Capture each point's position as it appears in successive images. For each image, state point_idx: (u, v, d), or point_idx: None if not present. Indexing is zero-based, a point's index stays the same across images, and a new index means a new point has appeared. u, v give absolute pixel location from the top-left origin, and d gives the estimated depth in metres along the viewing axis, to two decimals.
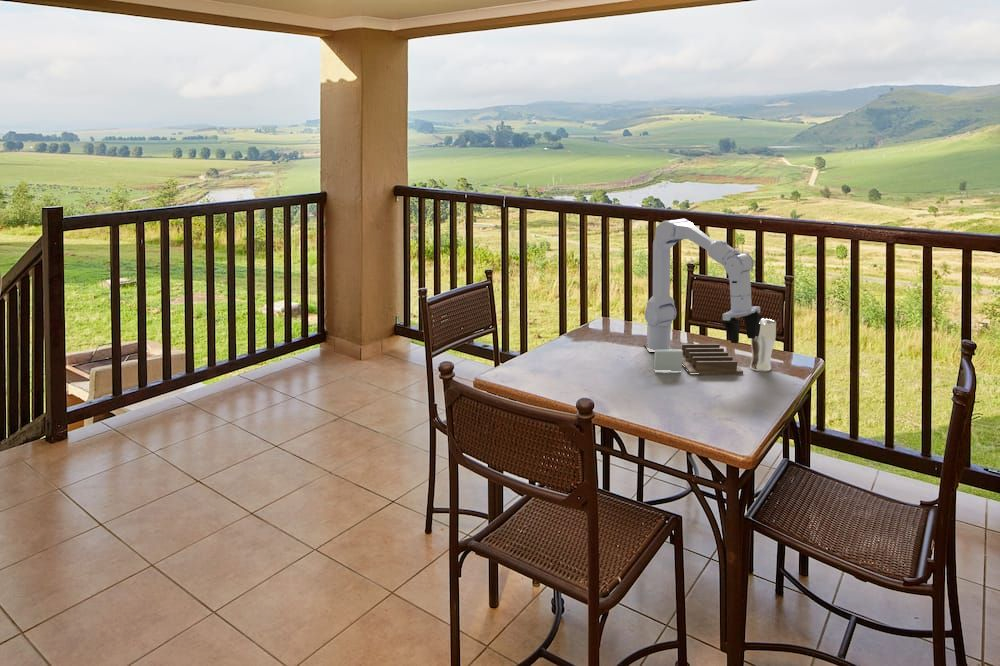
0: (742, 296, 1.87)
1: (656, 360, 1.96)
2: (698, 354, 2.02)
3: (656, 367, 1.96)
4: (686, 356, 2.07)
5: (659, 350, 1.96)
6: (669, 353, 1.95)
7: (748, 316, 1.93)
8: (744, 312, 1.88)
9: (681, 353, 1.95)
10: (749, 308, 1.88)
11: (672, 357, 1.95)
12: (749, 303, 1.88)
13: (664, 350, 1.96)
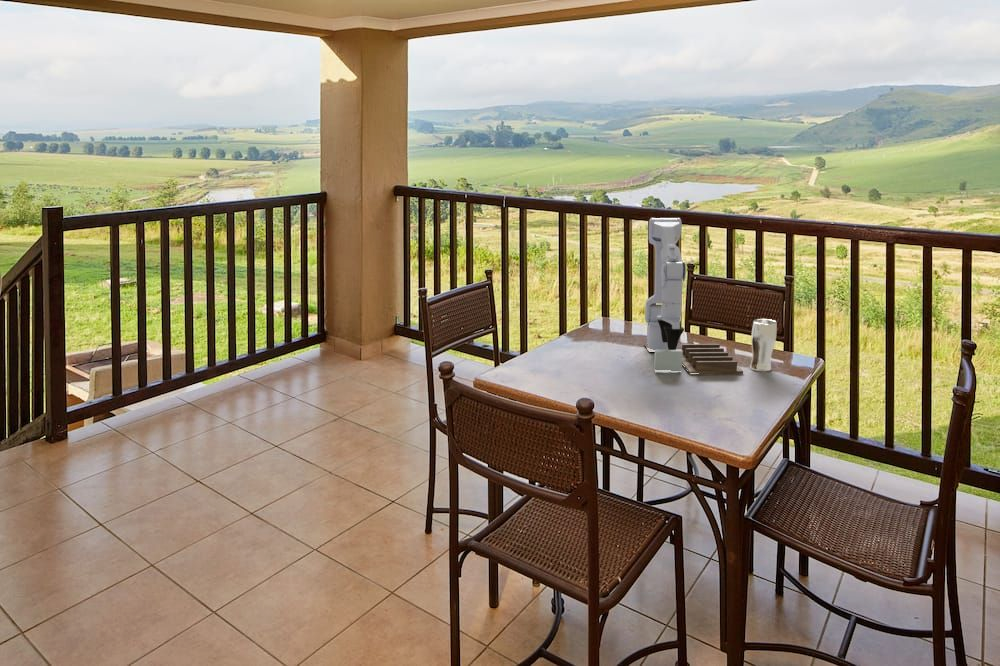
0: None
1: (656, 360, 1.96)
2: (698, 354, 2.02)
3: (656, 367, 1.96)
4: (686, 356, 2.07)
5: (659, 350, 1.96)
6: (669, 353, 1.95)
7: None
8: None
9: (681, 353, 1.95)
10: (661, 314, 1.93)
11: (672, 357, 1.95)
12: (661, 309, 1.92)
13: (664, 350, 1.96)
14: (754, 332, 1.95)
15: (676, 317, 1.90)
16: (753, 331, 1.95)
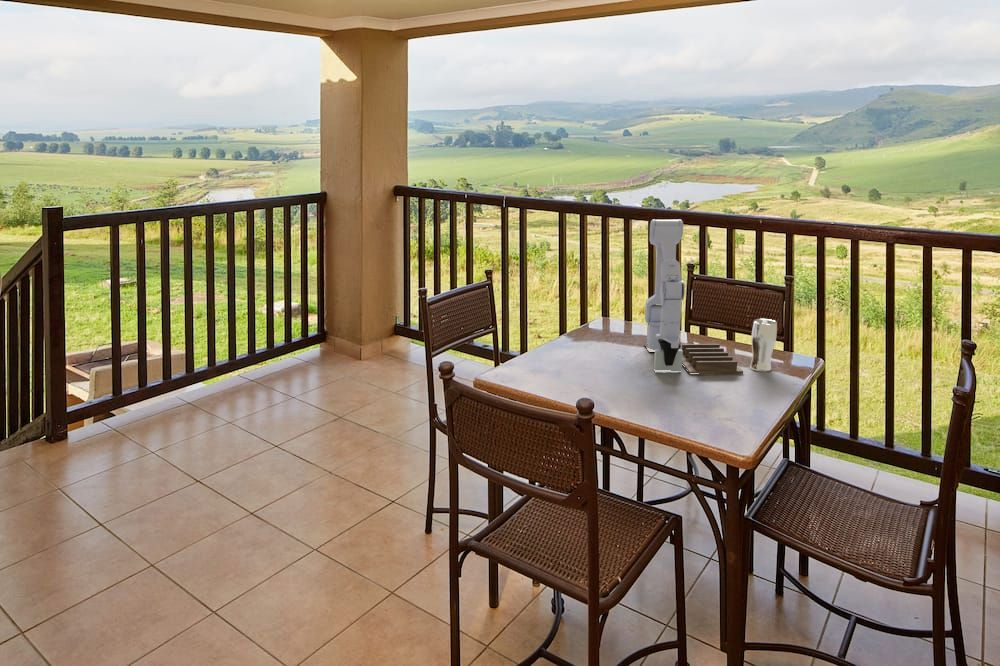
0: None
1: (656, 360, 1.96)
2: (698, 354, 2.02)
3: (656, 367, 1.96)
4: (686, 356, 2.07)
5: (659, 350, 1.96)
6: None
7: None
8: None
9: (681, 353, 1.95)
10: (660, 333, 1.94)
11: None
12: (660, 328, 1.94)
13: None
14: (754, 332, 1.95)
15: (675, 336, 1.92)
16: (753, 331, 1.95)
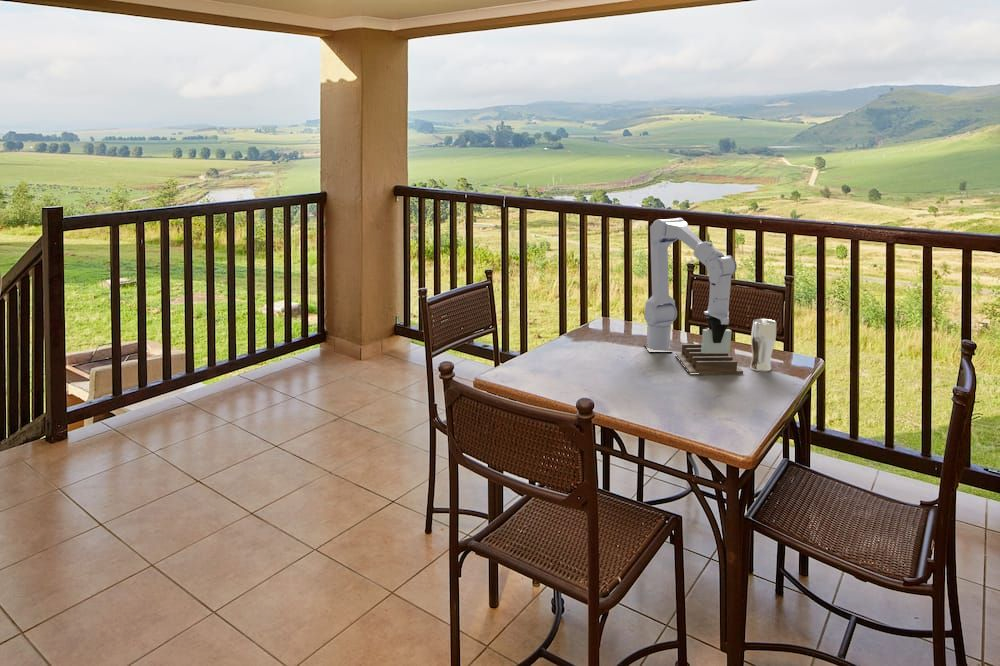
0: None
1: (704, 340, 1.94)
2: (698, 354, 2.02)
3: (704, 347, 1.94)
4: (686, 356, 2.07)
5: (707, 330, 1.94)
6: None
7: None
8: None
9: (730, 333, 1.93)
10: (708, 309, 1.92)
11: None
12: (709, 305, 1.91)
13: None
14: (754, 332, 1.95)
15: (724, 312, 1.89)
16: (753, 331, 1.95)
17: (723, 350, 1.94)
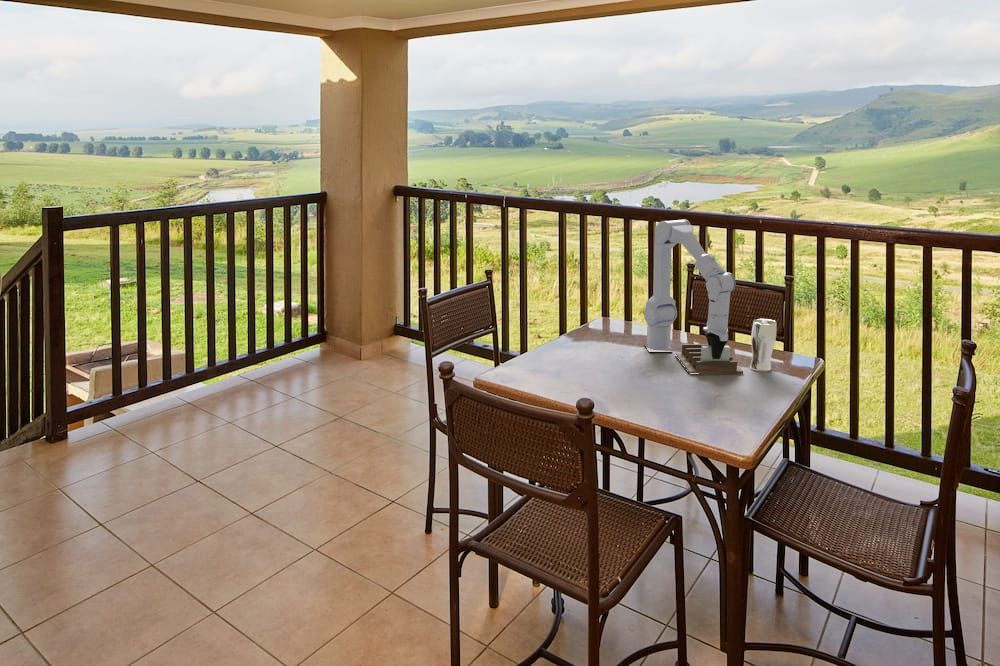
0: None
1: (703, 356, 1.95)
2: (698, 354, 2.02)
3: None
4: (686, 356, 2.07)
5: (706, 346, 1.95)
6: None
7: None
8: None
9: (728, 349, 1.94)
10: (707, 326, 1.93)
11: None
12: (708, 321, 1.93)
13: None
14: (754, 332, 1.95)
15: (723, 329, 1.91)
16: (753, 331, 1.95)
17: None
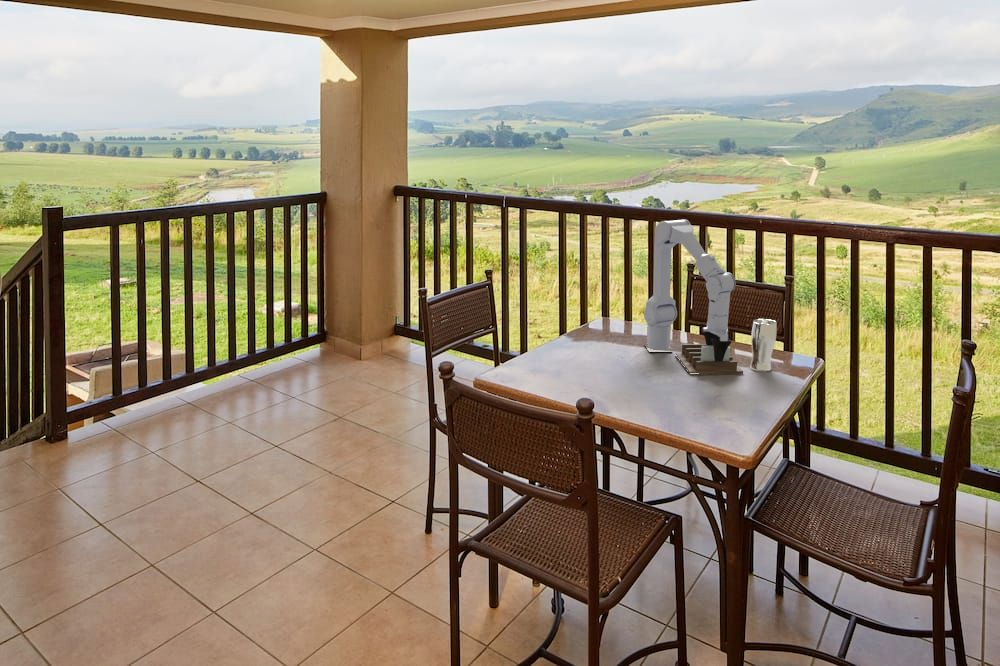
0: None
1: (703, 356, 1.95)
2: (698, 354, 2.02)
3: None
4: (686, 356, 2.07)
5: (706, 346, 1.95)
6: None
7: None
8: None
9: (728, 349, 1.94)
10: (707, 326, 1.93)
11: None
12: (708, 321, 1.93)
13: (711, 346, 1.95)
14: (754, 332, 1.95)
15: (723, 329, 1.91)
16: (753, 331, 1.95)
17: None
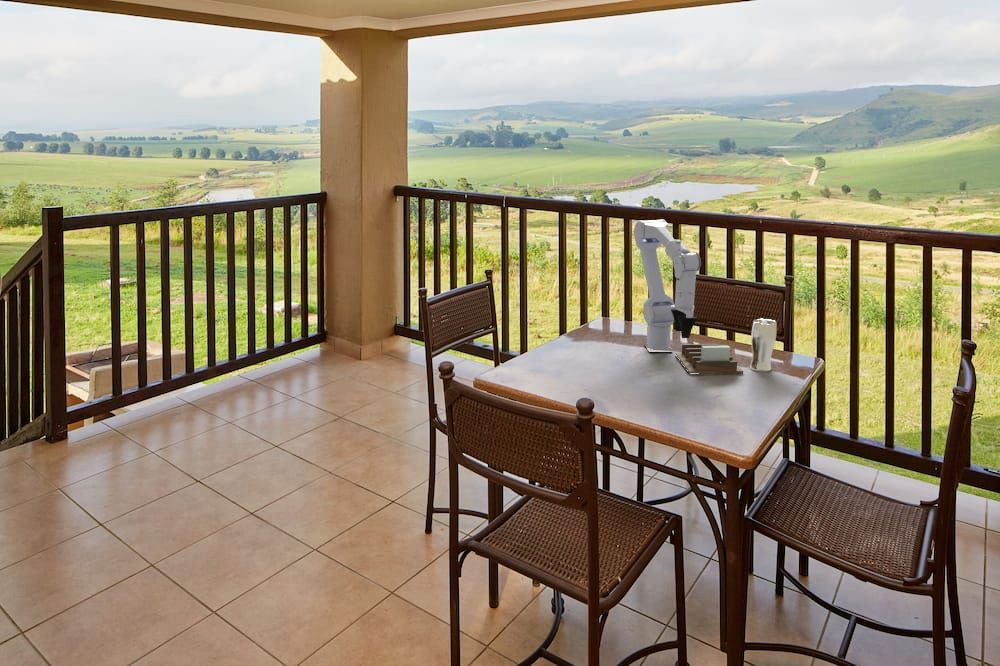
0: None
1: (703, 356, 1.95)
2: (698, 354, 2.02)
3: None
4: (686, 356, 2.07)
5: (706, 346, 1.95)
6: (716, 349, 1.94)
7: None
8: None
9: (728, 349, 1.94)
10: (675, 304, 2.00)
11: (719, 353, 1.95)
12: (675, 299, 2.00)
13: (711, 346, 1.95)
14: (754, 332, 1.95)
15: (689, 306, 1.98)
16: (753, 331, 1.95)
17: None
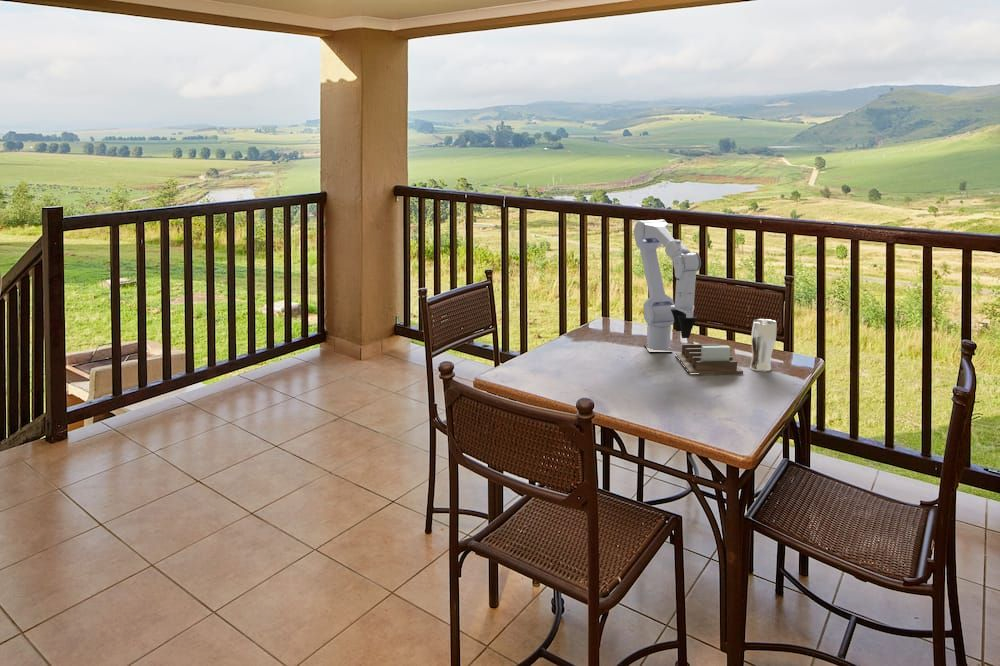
0: None
1: (703, 356, 1.95)
2: (698, 354, 2.02)
3: None
4: (686, 356, 2.07)
5: (706, 346, 1.95)
6: (716, 349, 1.94)
7: None
8: None
9: (728, 349, 1.94)
10: (675, 304, 2.00)
11: (719, 353, 1.95)
12: (675, 299, 2.00)
13: (711, 346, 1.95)
14: (754, 332, 1.95)
15: (689, 306, 1.98)
16: (753, 331, 1.95)
17: None
